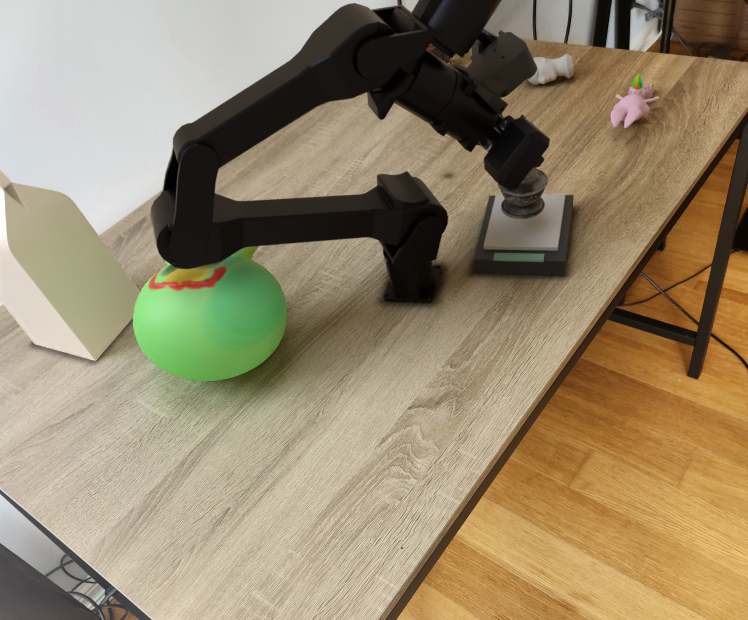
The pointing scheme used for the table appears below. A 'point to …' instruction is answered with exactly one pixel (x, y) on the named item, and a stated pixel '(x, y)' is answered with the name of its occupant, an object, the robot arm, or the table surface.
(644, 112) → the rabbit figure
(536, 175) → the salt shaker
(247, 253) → the toy bird
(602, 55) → the table surface
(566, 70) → the smooth white sculpture
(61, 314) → the milk
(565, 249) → the scale
